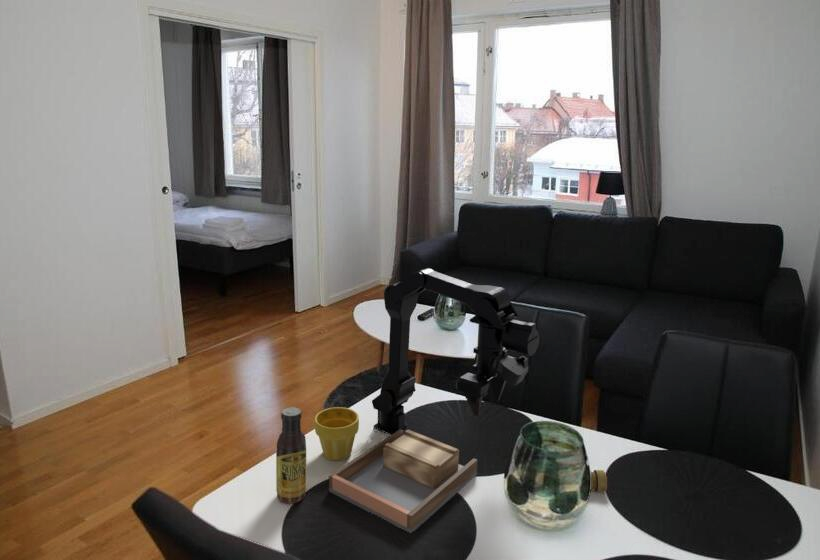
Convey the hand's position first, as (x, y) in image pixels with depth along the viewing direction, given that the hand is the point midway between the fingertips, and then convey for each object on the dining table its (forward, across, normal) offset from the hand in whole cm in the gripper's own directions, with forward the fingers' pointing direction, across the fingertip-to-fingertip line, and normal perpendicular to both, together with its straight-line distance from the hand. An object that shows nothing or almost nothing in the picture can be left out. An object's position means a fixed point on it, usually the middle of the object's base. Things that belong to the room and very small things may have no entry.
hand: (486, 408), depth 135 cm
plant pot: (+15, -18, +30) cm, 38 cm away
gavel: (+15, +12, -17) cm, 26 cm away
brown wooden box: (+13, -11, +10) cm, 20 cm away
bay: (+14, -17, +10) cm, 25 cm away
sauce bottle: (+15, -36, +26) cm, 47 cm away
